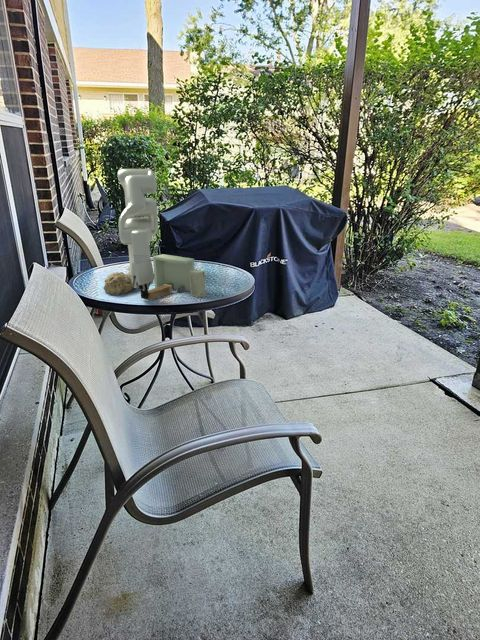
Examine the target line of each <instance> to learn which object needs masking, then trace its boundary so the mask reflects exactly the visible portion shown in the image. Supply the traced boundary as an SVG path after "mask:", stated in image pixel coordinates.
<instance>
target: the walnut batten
mask: <svg viewBox="0 0 480 640" xmlns="http://www.w3.org/2000/svg"><path fill="white" fill-rule="evenodd" d="M172 293H173V288H172V285H168V284H164V285H162V286H159V287H157V288H155V287H154V288H152V289H148V297H149V298H147V299H146V300H148V301H153V300H156V299H159V298H161V297H165V296H166V295H170V294H172Z"/></svg>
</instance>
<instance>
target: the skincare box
mask: <svg viewBox="0 0 480 640" xmlns="http://www.w3.org/2000/svg"><path fill="white" fill-rule="evenodd" d="M190 286H191V291H190V296H192V297H195V298H199V299H200V298H204V297H206V296H207V292H206V274H205V270H201V269H200V270H199V269H194V270H192V271H190Z"/></svg>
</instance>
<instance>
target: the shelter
mask: <svg viewBox="0 0 480 640" xmlns="http://www.w3.org/2000/svg"><path fill="white" fill-rule="evenodd" d="M152 260H153V261H152V262H153V264H152V266H153V273H154V288H157V287H159V286H162V285H164V284H168V285H172V289H176V293H177V294H178V293H180V292H183V291H187V292H191V286H190V271H192V270H195V258H191V257H185V256H184V257H183V256H178V255H173V254H172V255H170V254H163V253H162V254H158V255H153V256H152Z"/></svg>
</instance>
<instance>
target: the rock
mask: <svg viewBox="0 0 480 640" xmlns="http://www.w3.org/2000/svg"><path fill="white" fill-rule="evenodd" d="M133 289H135V288H134V284H132V281H131V275H128V273H127V274H126V273H124V272H122V271H121V272H114V273H113V272H112V273H110V274H108V275H107V276H106V278H105V279H104V286H103V290H104V292H105V293H106V292H107V295H109V294H112V295H113V294H119V295H120V294H126V293H129V292H130V291H132V290H133Z"/></svg>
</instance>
